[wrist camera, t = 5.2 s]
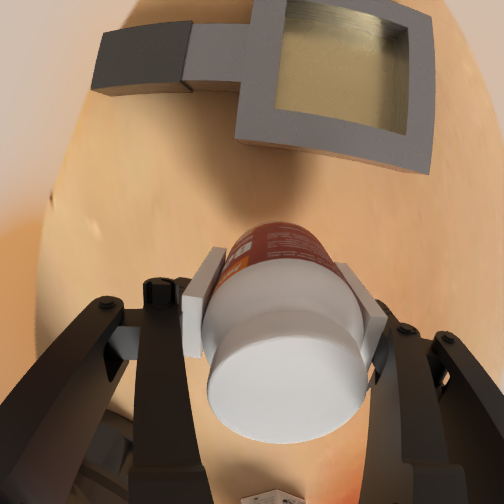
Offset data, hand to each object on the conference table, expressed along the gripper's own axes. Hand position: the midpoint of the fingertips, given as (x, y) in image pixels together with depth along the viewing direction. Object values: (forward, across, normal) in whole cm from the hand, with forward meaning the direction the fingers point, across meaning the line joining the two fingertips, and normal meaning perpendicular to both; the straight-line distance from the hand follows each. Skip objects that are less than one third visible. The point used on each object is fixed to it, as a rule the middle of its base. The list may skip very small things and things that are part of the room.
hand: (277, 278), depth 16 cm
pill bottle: (+2, 0, 0) cm, 2 cm away
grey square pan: (+5, -3, +14) cm, 15 cm away
